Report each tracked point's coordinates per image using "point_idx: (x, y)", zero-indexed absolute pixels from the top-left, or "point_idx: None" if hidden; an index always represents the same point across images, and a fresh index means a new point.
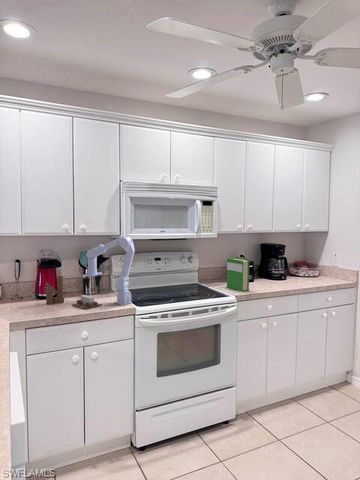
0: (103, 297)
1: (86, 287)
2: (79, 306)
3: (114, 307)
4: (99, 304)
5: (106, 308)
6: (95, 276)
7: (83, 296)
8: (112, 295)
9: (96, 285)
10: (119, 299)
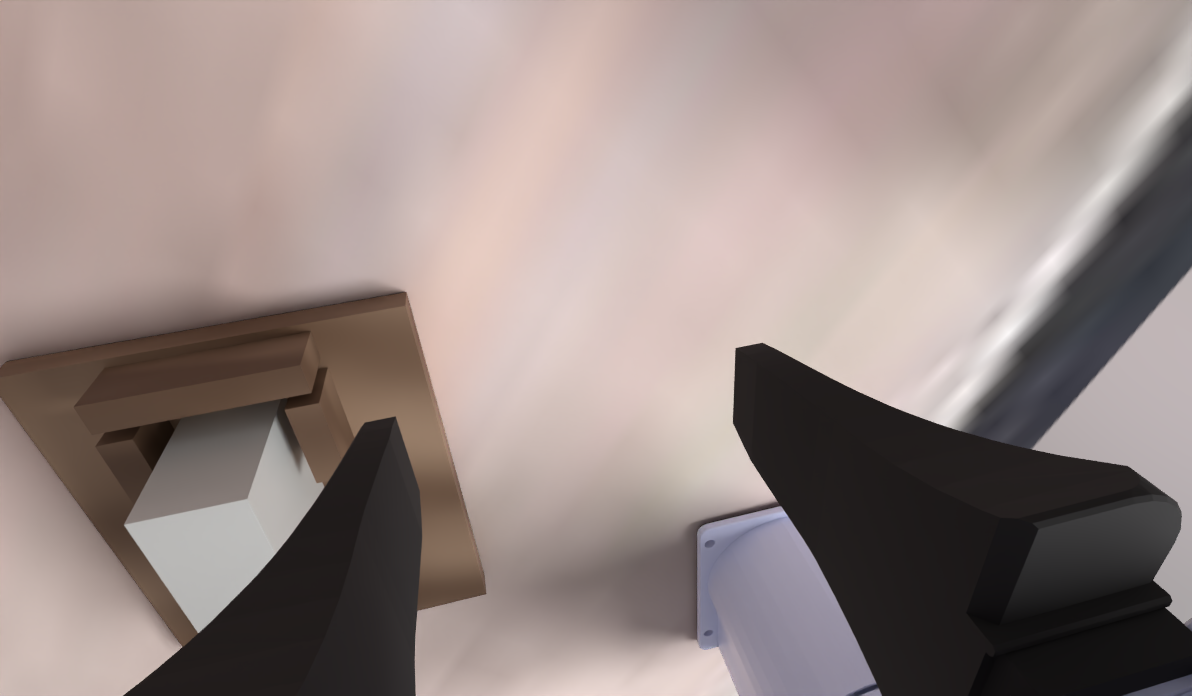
0: (833, 125)
1: (359, 438)
2: (117, 550)
3: (572, 668)
4: (457, 585)
5: (476, 671)
6: (979, 580)
7: (180, 596)
8: (1044, 91)
9: (745, 389)
10: (729, 640)
